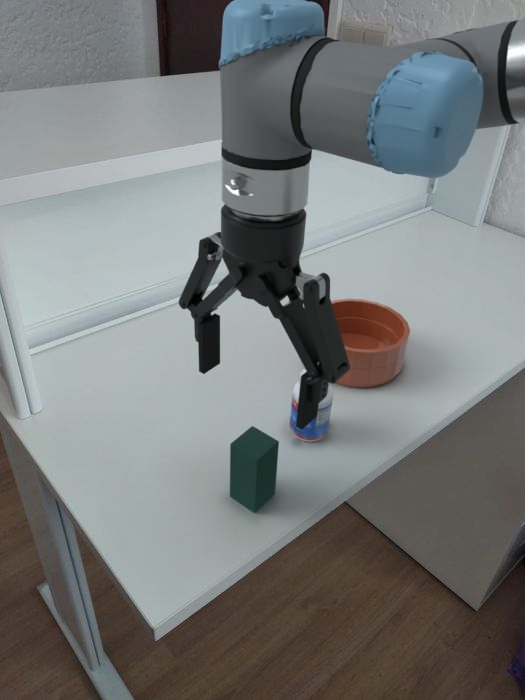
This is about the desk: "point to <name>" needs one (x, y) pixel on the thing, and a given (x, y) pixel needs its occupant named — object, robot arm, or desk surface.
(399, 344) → the bowl
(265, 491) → the green block
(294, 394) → the pill bottle
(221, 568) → the desk surface
